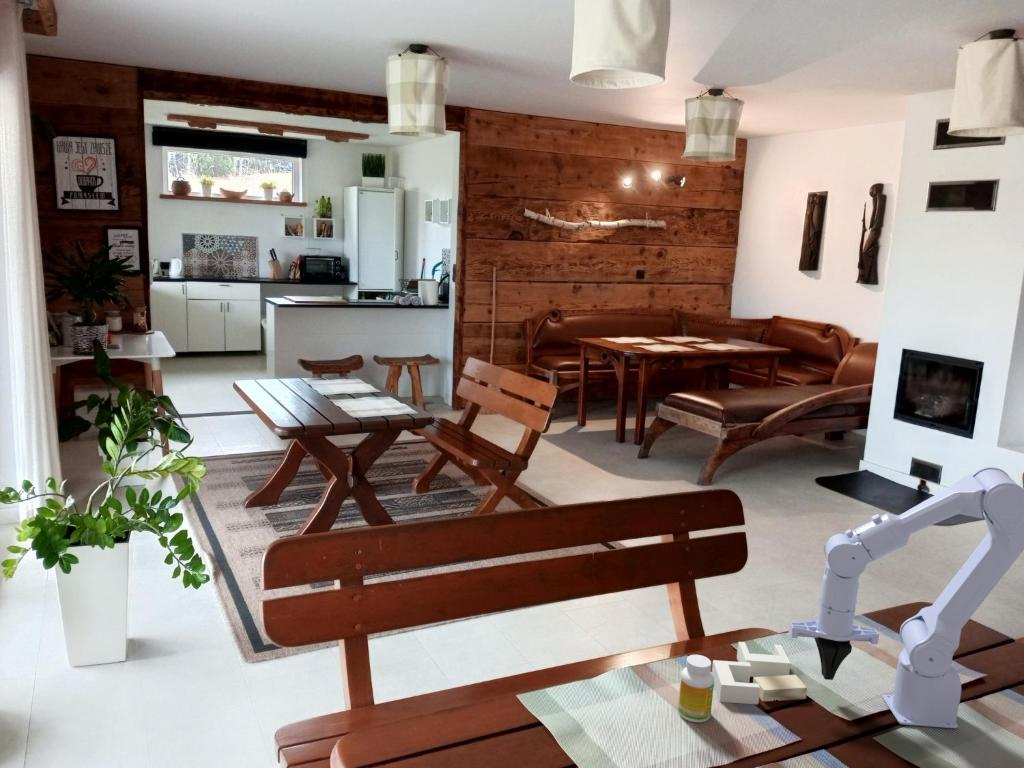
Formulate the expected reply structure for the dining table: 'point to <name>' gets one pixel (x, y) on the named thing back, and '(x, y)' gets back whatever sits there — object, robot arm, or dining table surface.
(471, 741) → the dining table surface
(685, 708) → the supplement bottle
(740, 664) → the end cap
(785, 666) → the white u-shaped block
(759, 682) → the beige rectangular block
